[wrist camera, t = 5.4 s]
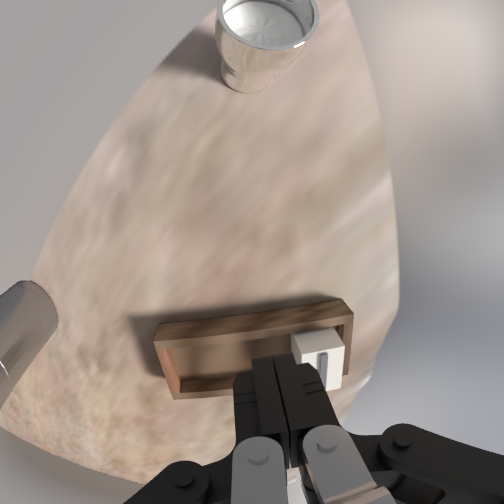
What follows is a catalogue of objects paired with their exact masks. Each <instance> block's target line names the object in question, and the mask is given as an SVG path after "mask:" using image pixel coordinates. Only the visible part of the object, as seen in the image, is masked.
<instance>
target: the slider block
mask: <svg viewBox="0 0 504 504" xmlns="http://www.w3.org/2000/svg"><path fill="white" fill-rule="evenodd" d="M291 351H292V352H293V355H294V358H295V361H296V364H302V363H310V364H311V365H312V366H313V367H314V368H315V369H317V370H318V373H319V375H320V378H321V380H322V383H323V385H324V387H325V391H329V390H333V389H338V388H341V380H342V371H343V361H344V351H345V345H344V343H343V342H342V340H341V339H340V337H339V335H338V334H337V332H336V331H335V329H334V327H333V326H331V327H326V328H321V329H315V330H310V331H304V332H298V333H292V334H291Z"/></svg>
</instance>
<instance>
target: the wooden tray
mask: <svg viewBox="0 0 504 504" xmlns="http://www.w3.org/2000/svg"><path fill="white" fill-rule="evenodd" d="M353 318H354V313H353V312H352V311H351V310H350V308H349V307H348V306H347V304H346V303H345V302H344V301H343V299H339V300H334V301H328V302H322V303H316V304H310V305H304V306H298V307H292V308H285V309H279V310H272V311H265V312H258V313H251V314H243V315H236V316H228V317H219V318H211V319H202V320H193V321H183V322H173V323H162V324H158V327H157V330H156V334H155V337H154V340H153V343H154V346H155V349H156V352H157V355H158V358H159V361H160V364H161V367H162V370H163V373H164V375H165V378H166V381H167V384H168V386H169V389H170V392H171V394H172V397H173V400H176V399H193V398H206V397H217V396H227V395H233V382H234V380H235V378H236V376H237V374H238V373H242V372H250V371H253V370H252V363H251V357H258V356H265V355H271V358H272V354H278V353H285V352H291V334H292V333H298V332H304V331H310V330H315V329H321V328H326V327H331V326H333V327H334V329H335V331H336V332H337V334H338V335H339V337H340V339H341V340H342V342H343V343H344V345H345V351H344V361H343V371H342V376H343V375H347V374H348V369H349V361H350V351H351V341H352V330H353Z"/></svg>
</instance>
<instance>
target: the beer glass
mask: <svg viewBox="0 0 504 504" xmlns="http://www.w3.org/2000/svg"><path fill="white" fill-rule="evenodd" d="M318 24H319V10H318V7H317V4H316V2H315V0H219V1H218V6H217V14H216V19H215V42H216V46H217V49H218V52H219V54H220V56H221V58H222V60H221V64H220V73H221V76H222V78H223V80H224V82H225V83H226V84H227V85H228V86H229V87H230V88H232V89H234V90H236V91H238V92H242V93H256V92H259V91H262V90H264V89H265V88H267V87H268V86H269V85H270V84H271V83H272V81H273V80H274V78H275V75H276V74H277V73H279V72H281V71H282V70H284V69H285V68H287V67H288V66H290V65H291V64H292V63H293V62H294V61H295V60H296V59H297V58H298V57H299V56H300V54H301V53H302V52H303V50H304V49H305V48H306V46H307V44H308V43H309V41H310V39H311V37H312V36H313V35H314V33H315V32H316V30H317V28H318Z"/></svg>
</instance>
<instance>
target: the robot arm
mask: <svg viewBox="0 0 504 504" xmlns="http://www.w3.org/2000/svg"><path fill="white" fill-rule="evenodd" d="M57 323H58V318H57V312H56V309H55V306H54V304H53V302H52V300H51V299H50V297H49V296H48V295H47V293H46V292H45V291H44V290H43V289H42V288H41V287H39V286H38V285H37V284H35V283H33V282H30V281H19V282H17V283H16V284H15V285H13V286H12V287H11V288H9V289H8V290H7V291H6V292H4V293H3V294H2V295H1V296H0V409H1V407H2V406H3V404H4V403H5V401H6V399H7V398H8V396H9V395H10V393H11V392H12V390H13V388H14V387H15V385H16V384H17V382H18V381H19V379H20V378H21V377H22V375H23V374H24V372H25V371H26V369H27V368H28V366H29V365H30V364H31V362H32V361H33V359H34V358H35V357H36V355H37V354H38V353H39V351H40V350H41V348H42V347H43V346H44V345H45V343H46V342H47V341H48V339H49V338H50V337H51V335H52V334H53V333H54V331H55V330H56V328H57ZM251 363H252V370H253V371H250V372H242V373H238V374H237V376H236V378H235V380H234V382H233V396H234V397H233V398H234V415H235V430H236V444H235V447H234V449H233V450H232V452H231V453H230V454H229V455H228V456H226V457H225V458H223V459H222V460H219V461H217V462H214V463H211V464H208V465H205V466H201V465H200V464H198V463H195V462H192V461H178V462H175V463H172V464H170V465H168V466H167V467H166V468H165V469H164V470H162V471H161V472H160V473H159V474H158V475H157V476H156V477H154V478H153V479H152V480H151V481H150V482H149V483H147V484H146V485H145V486H144V487H143V488H142V489H140V490H139V491H138V492H137V493H136V494H134V495H133V496H132V497H131V498H130V499H128V500H127V501H126V502H125V503H123V504H288V495H287V469H289V459H290V464H291V468H295V467H299V470H300V474H301V486H302V489H303V492H304V495H305V498H306V501H307V504H504V455H500V454H496V453H493V452H489V451H486V450H482V449H479V448H476V447H473V446H470V445H467V444H463V443H461V442H457V441H455V440H451V439H449V438H446V437H443V436H440V435H438V434H435V433H432V432H429V431H426V430H424V429H421V428H418V427H416V426H414V425H411V424H403V423H402V424H396V425H393V426H391V427H389V428H387V429H386V430H385V431H384V433H383V434H382V435H367V436H366V435H365V436H364V435H363V436H362V435H355V434H352V433H350V432H348V431H346V430H345V429H343V428H342V427H341V425H340V424H339V422H338V420H337V417H336V415H335V412H334V410H333V407H332V405H331V402H330V400H329V397H328V395H327V392H326V391H325V387H324V385H323V383H322V380H321V378H320V375H319V373H318V370H317V369H315V368H314V367H313V366H312V365H311V364H310V363H302V364H296V361H295V358H294V355H293V352H292V351H291V352H285V353H278V354H272V358H271V355H265V356H258V357H251Z"/></svg>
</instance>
